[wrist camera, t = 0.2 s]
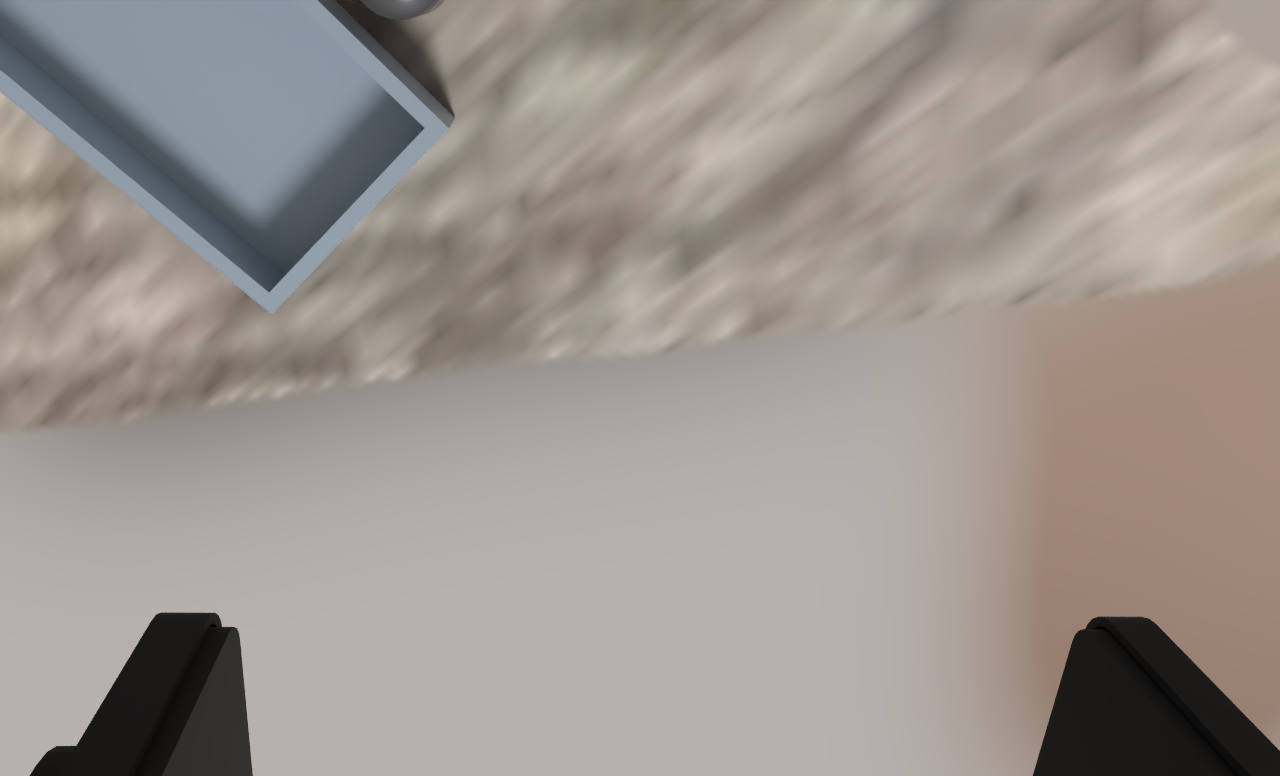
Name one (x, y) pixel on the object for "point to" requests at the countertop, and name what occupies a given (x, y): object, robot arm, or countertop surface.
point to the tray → (226, 119)
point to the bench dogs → (401, 7)
